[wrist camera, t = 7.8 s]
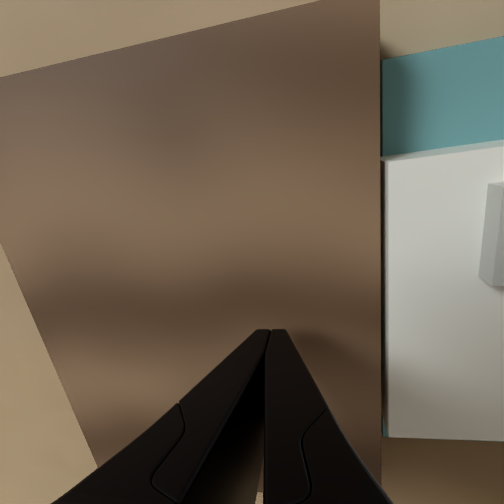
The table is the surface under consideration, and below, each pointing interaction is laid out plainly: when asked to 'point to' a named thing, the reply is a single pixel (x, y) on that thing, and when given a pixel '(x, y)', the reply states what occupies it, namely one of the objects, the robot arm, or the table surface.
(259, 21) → the brown flat block
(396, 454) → the table surface
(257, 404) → the robot arm
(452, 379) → the white panel with tab
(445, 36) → the table surface
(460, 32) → the table surface
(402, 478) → the table surface
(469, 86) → the mat
